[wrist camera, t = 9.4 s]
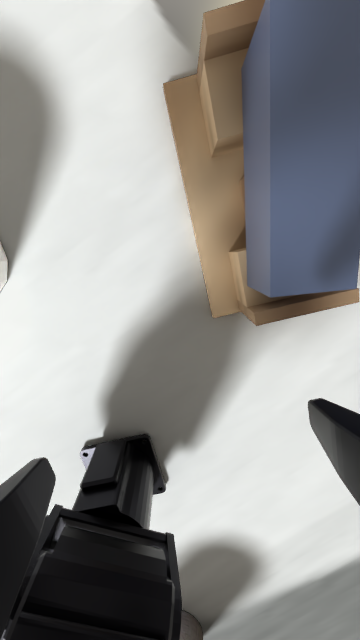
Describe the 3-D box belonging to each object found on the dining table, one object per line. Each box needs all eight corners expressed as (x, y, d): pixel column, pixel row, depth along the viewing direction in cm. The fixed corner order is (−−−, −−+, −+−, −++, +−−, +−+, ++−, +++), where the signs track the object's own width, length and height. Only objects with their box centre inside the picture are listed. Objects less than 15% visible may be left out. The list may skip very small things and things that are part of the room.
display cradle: (323, 45, 15) (391, -51, 10) (339, 285, 19) (394, 297, 14) (163, 91, 16) (157, 20, 11) (212, 315, 20) (223, 336, 15)
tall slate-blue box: (311, 279, 15) (356, 288, 12) (247, 285, 15) (270, 297, 12) (321, 59, 12) (385, -27, 9) (241, 68, 12) (269, -13, 9)
